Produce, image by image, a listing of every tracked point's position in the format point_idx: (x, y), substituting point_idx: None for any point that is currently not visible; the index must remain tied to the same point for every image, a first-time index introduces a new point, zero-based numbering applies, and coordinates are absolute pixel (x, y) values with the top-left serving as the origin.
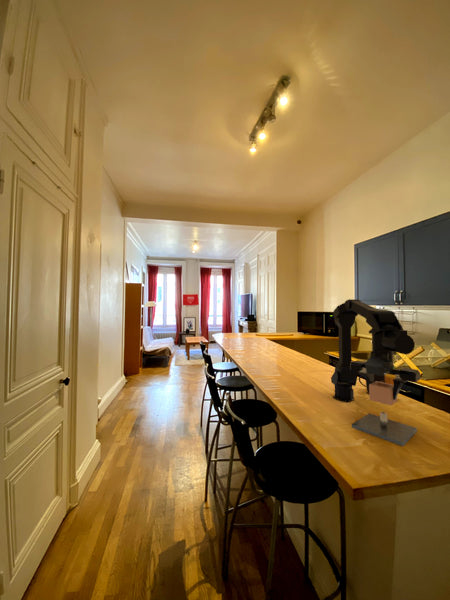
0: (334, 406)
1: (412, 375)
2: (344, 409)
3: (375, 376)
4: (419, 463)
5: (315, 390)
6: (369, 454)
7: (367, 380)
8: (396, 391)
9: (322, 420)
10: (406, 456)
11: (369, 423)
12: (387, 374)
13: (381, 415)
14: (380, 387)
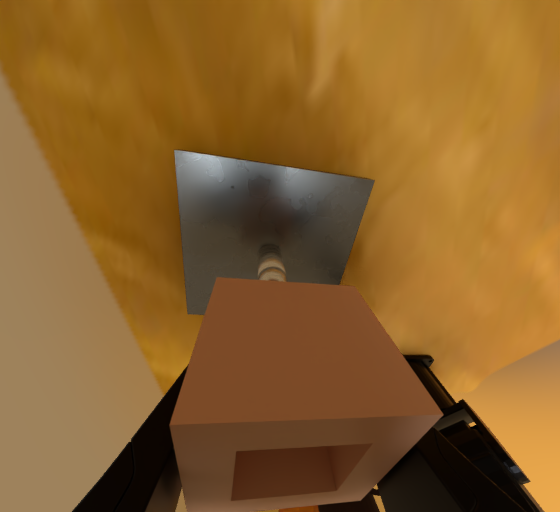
0: (427, 308)
1: None
2: (397, 308)
3: (344, 504)
4: (66, 3)
5: (478, 371)
6: None
7: (471, 483)
8: (145, 427)
9: (481, 156)
10: (132, 43)
11: (315, 240)
12: None
13: (278, 268)
14: (305, 411)
